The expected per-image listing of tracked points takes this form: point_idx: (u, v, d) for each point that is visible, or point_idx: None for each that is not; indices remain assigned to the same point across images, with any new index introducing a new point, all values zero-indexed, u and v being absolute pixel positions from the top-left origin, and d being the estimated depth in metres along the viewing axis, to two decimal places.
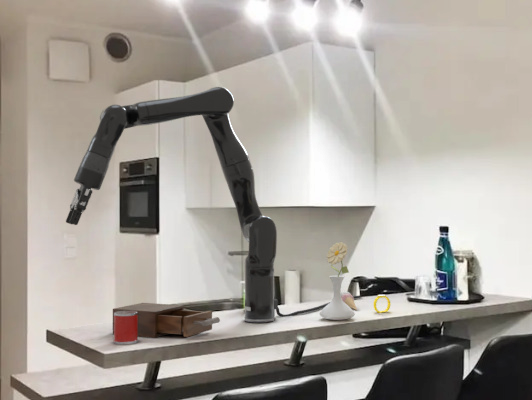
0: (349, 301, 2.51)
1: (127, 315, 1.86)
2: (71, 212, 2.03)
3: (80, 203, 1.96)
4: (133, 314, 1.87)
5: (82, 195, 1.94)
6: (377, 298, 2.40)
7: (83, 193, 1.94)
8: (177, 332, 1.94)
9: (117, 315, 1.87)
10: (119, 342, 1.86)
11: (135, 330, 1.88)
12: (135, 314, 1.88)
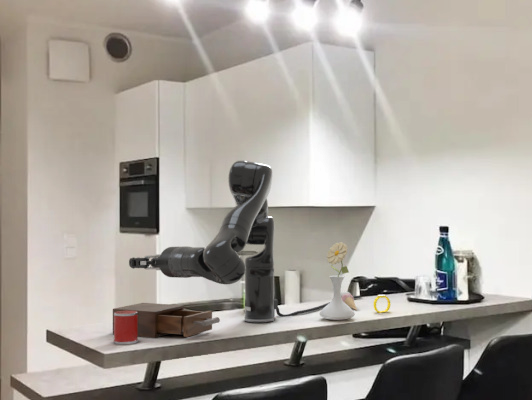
0: (349, 301, 2.51)
1: (127, 315, 1.86)
2: None
3: None
4: (133, 314, 1.87)
5: None
6: (377, 298, 2.40)
7: None
8: (177, 332, 1.94)
9: (117, 315, 1.87)
10: (119, 342, 1.86)
11: (135, 330, 1.88)
12: (135, 314, 1.88)
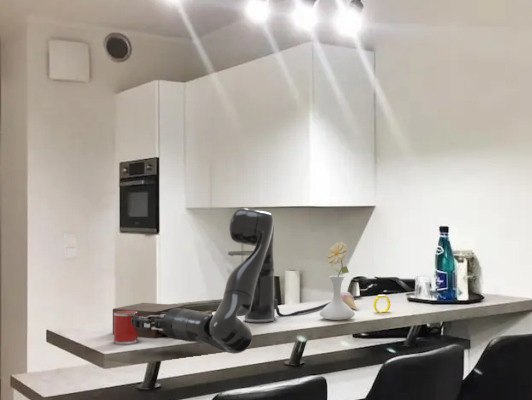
0: (349, 301, 2.51)
1: (127, 315, 1.86)
2: None
3: None
4: (133, 314, 1.87)
5: None
6: (377, 298, 2.40)
7: None
8: None
9: (117, 315, 1.87)
10: (119, 342, 1.86)
11: (135, 330, 1.88)
12: (135, 314, 1.88)
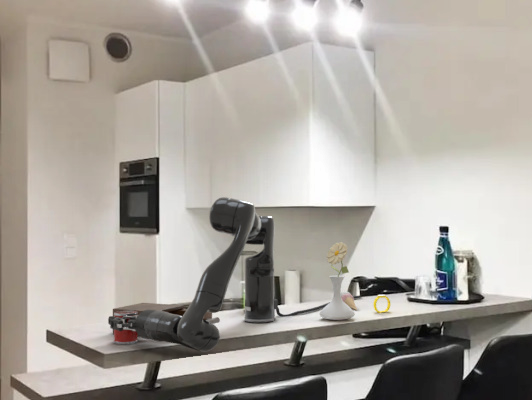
0: (349, 301, 2.51)
1: (127, 315, 1.86)
2: None
3: None
4: (133, 314, 1.87)
5: None
6: (377, 298, 2.40)
7: None
8: None
9: (117, 315, 1.87)
10: (119, 342, 1.86)
11: None
12: (135, 314, 1.88)
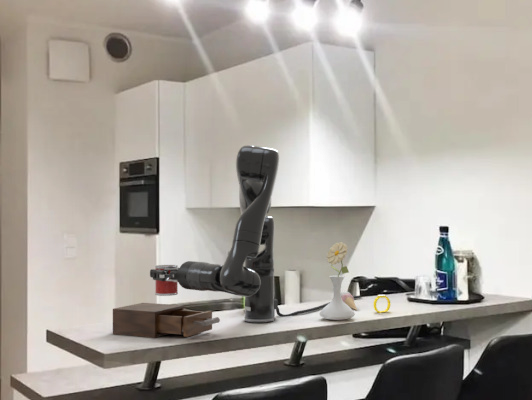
0: (349, 301, 2.51)
1: None
2: None
3: None
4: (174, 267, 1.95)
5: None
6: (377, 298, 2.40)
7: None
8: (177, 332, 1.94)
9: (158, 268, 1.95)
10: (160, 294, 1.94)
11: (175, 283, 1.96)
12: (175, 267, 1.96)
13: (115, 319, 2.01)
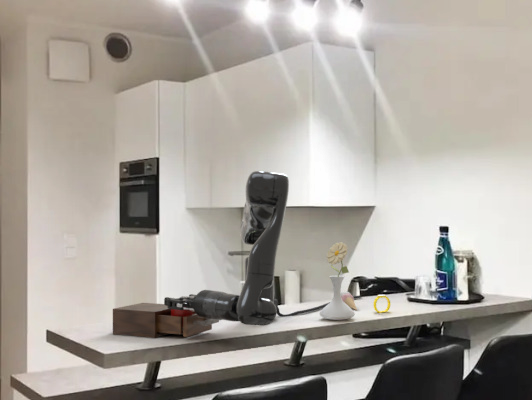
0: (349, 301, 2.51)
1: (184, 302, 1.97)
2: None
3: None
4: None
5: None
6: (377, 298, 2.40)
7: None
8: (177, 332, 1.94)
9: None
10: None
11: None
12: None
13: (115, 319, 2.01)
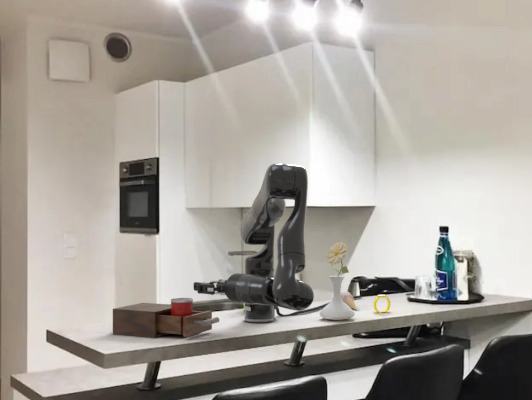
0: (349, 301, 2.51)
1: (184, 302, 1.97)
2: None
3: None
4: (189, 301, 1.98)
5: None
6: (377, 298, 2.40)
7: None
8: (177, 332, 1.94)
9: (174, 302, 1.97)
10: None
11: None
12: (191, 301, 1.99)
13: (115, 319, 2.01)
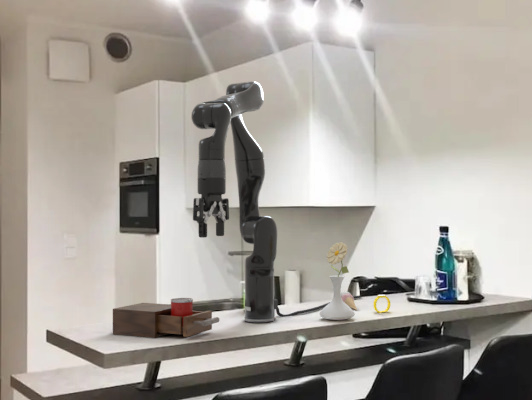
0: (349, 301, 2.51)
1: (184, 302, 1.97)
2: None
3: None
4: (189, 301, 1.98)
5: None
6: (377, 298, 2.40)
7: None
8: (177, 332, 1.94)
9: (174, 302, 1.97)
10: None
11: None
12: (191, 301, 1.99)
13: (115, 319, 2.01)
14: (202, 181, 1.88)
